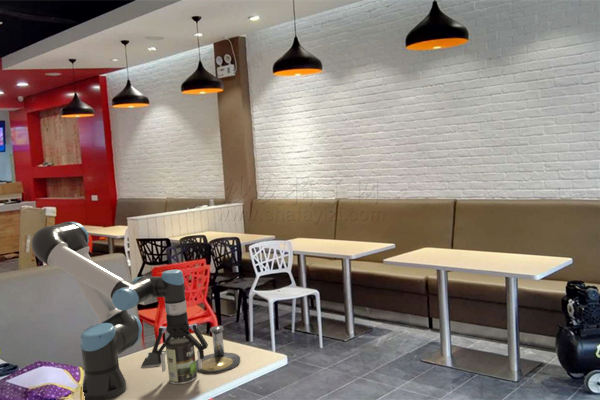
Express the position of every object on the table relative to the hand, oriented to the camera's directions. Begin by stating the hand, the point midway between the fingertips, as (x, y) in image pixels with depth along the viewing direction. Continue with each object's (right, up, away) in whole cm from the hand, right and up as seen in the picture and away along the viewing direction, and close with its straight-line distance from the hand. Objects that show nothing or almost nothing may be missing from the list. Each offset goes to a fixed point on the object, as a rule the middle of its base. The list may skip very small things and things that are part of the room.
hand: (182, 369), depth 202 cm
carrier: (+11, -2, +12) cm, 17 cm away
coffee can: (0, -4, 0) cm, 4 cm away
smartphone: (-16, -4, +22) cm, 28 cm away
